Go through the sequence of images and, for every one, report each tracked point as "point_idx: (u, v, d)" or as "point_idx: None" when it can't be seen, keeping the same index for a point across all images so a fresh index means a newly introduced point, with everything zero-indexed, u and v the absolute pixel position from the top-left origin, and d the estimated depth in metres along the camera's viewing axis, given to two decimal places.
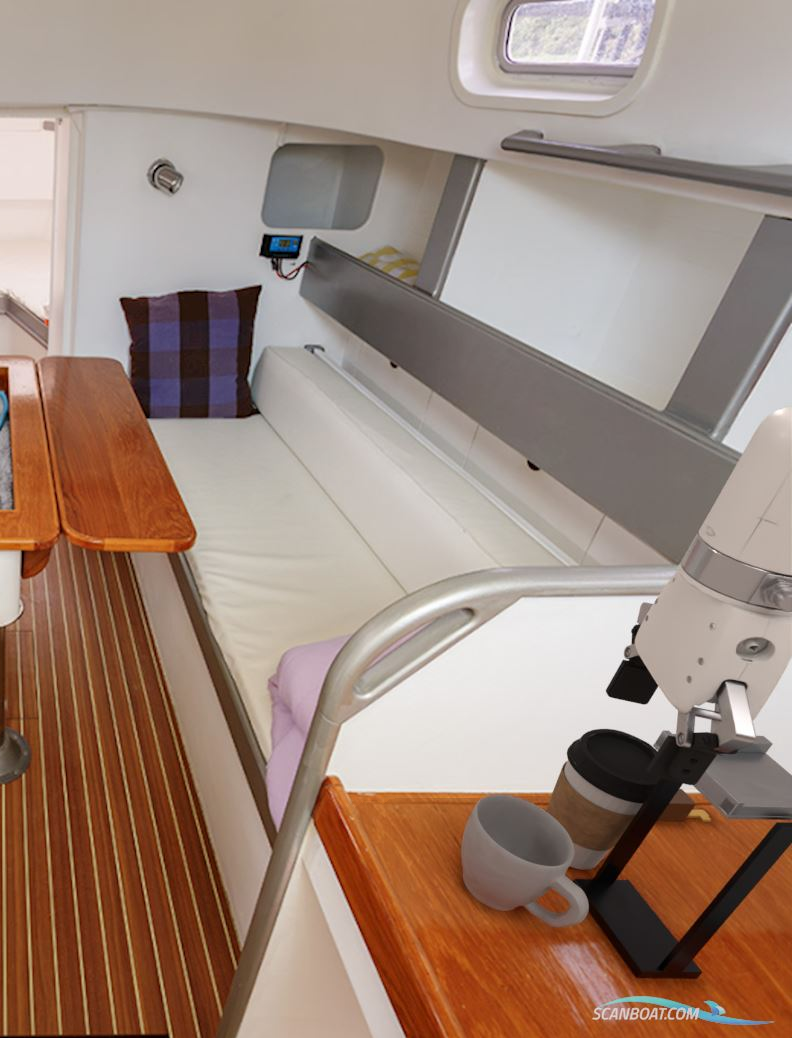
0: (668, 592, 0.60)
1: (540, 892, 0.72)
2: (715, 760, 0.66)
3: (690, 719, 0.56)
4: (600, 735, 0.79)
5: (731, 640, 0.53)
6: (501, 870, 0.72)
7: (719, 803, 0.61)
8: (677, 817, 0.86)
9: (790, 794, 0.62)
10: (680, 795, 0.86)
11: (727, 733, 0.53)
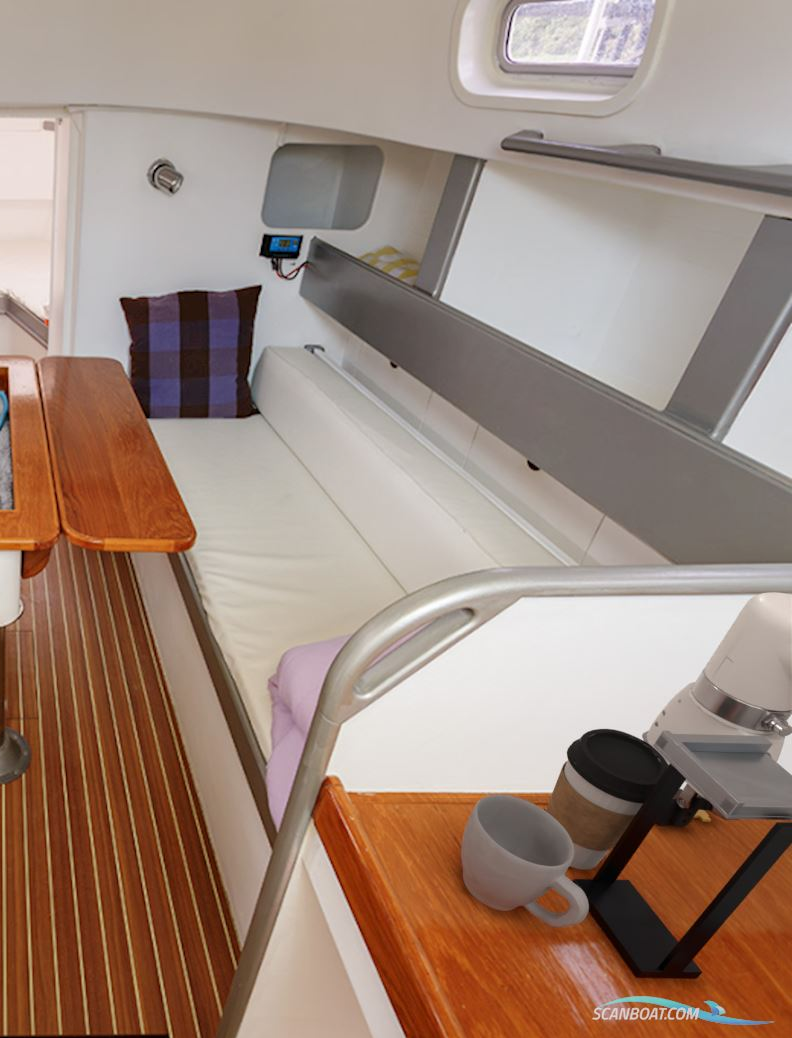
0: (676, 709, 0.84)
1: (540, 892, 0.72)
2: (715, 760, 0.66)
3: (694, 797, 0.82)
4: (600, 735, 0.79)
5: None
6: (501, 870, 0.72)
7: (719, 803, 0.61)
8: None
9: (790, 794, 0.62)
10: None
11: None
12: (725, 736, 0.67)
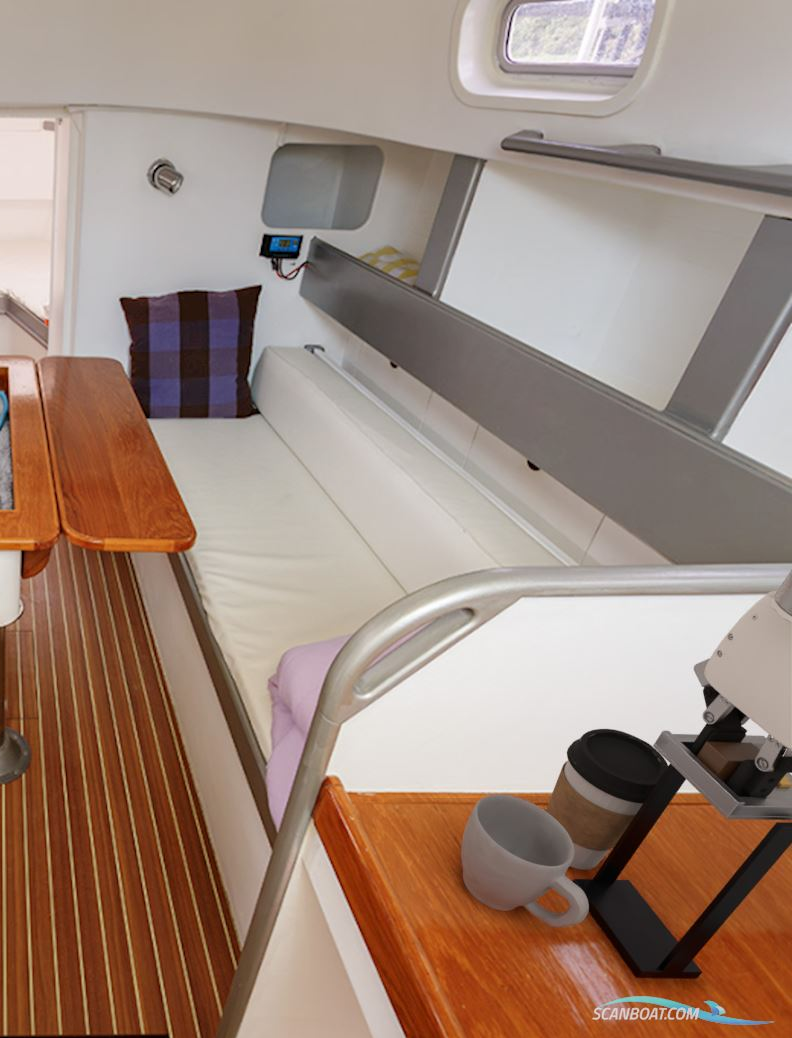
0: (750, 630, 0.60)
1: (540, 892, 0.72)
2: None
3: (780, 753, 0.58)
4: (600, 735, 0.79)
5: None
6: (501, 870, 0.72)
7: (719, 803, 0.61)
8: None
9: (790, 794, 0.62)
10: (750, 750, 0.62)
11: None
12: None
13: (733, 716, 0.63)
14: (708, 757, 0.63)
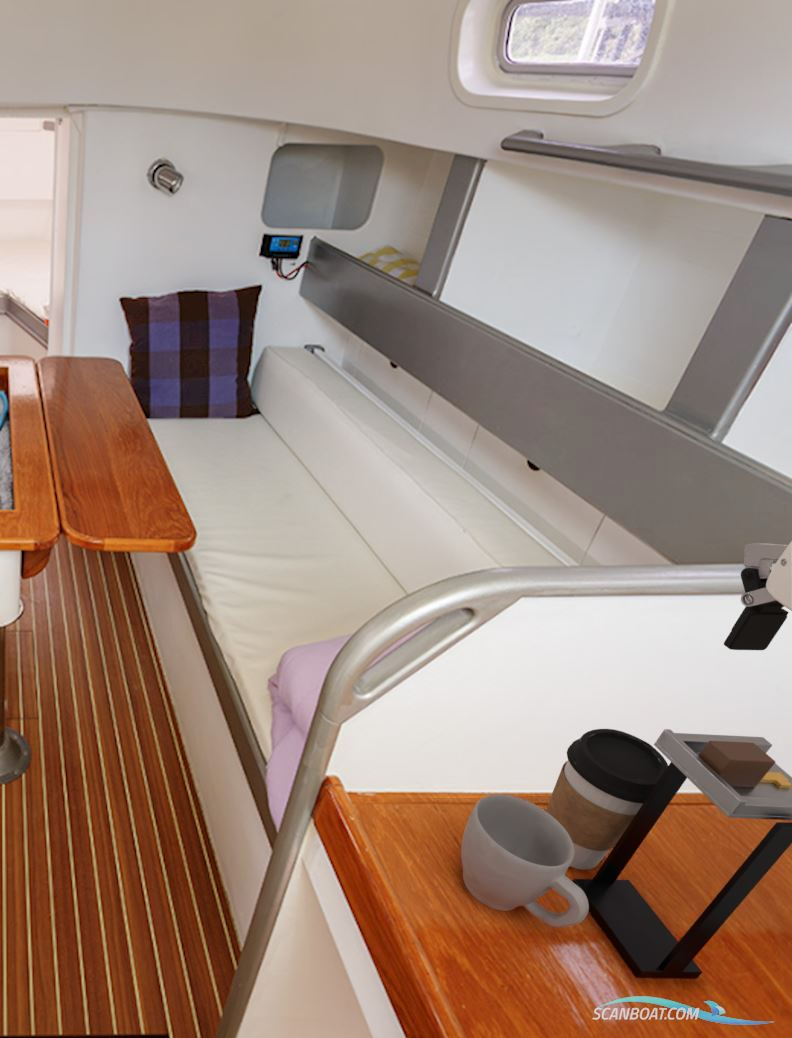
0: None
1: (540, 892, 0.72)
2: None
3: None
4: (600, 735, 0.79)
5: None
6: (501, 870, 0.72)
7: (720, 802, 0.61)
8: (747, 781, 0.63)
9: (789, 795, 0.63)
10: (753, 750, 0.62)
11: None
12: (725, 736, 0.67)
13: (774, 601, 0.61)
14: (711, 756, 0.63)
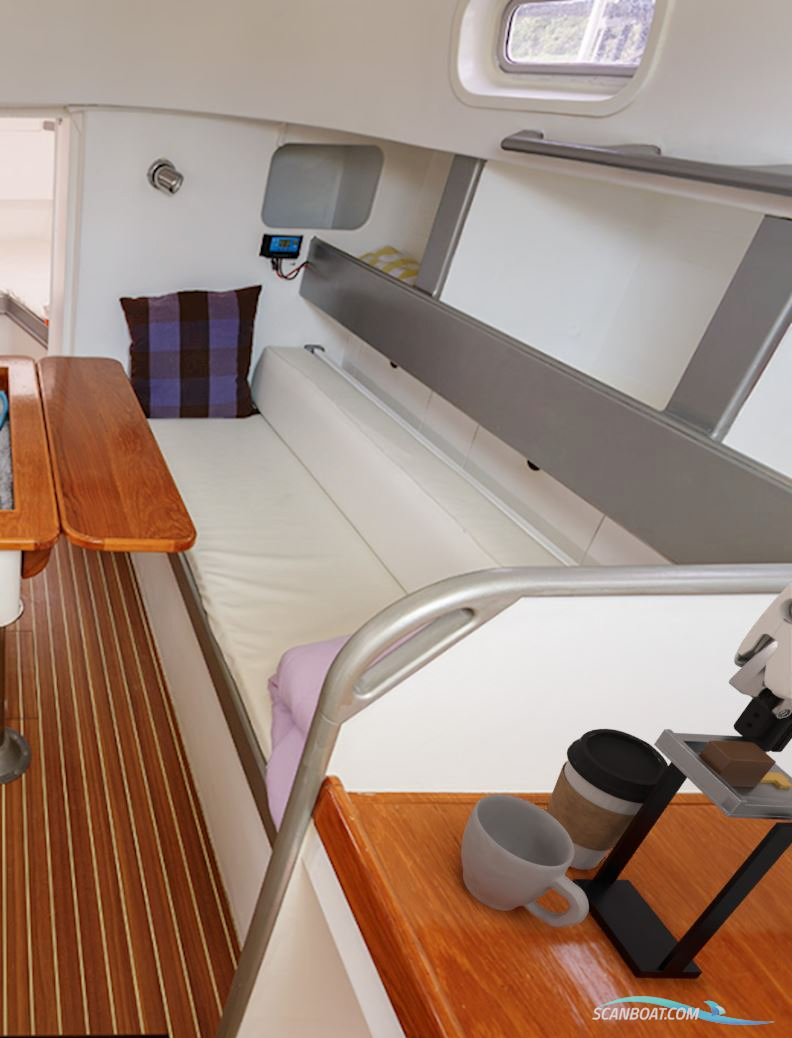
0: None
1: (540, 892, 0.72)
2: None
3: None
4: (600, 735, 0.79)
5: (783, 599, 0.60)
6: (501, 870, 0.72)
7: (720, 802, 0.61)
8: (747, 781, 0.63)
9: (789, 795, 0.63)
10: (753, 750, 0.62)
11: None
12: (725, 736, 0.67)
13: None
14: (711, 756, 0.63)
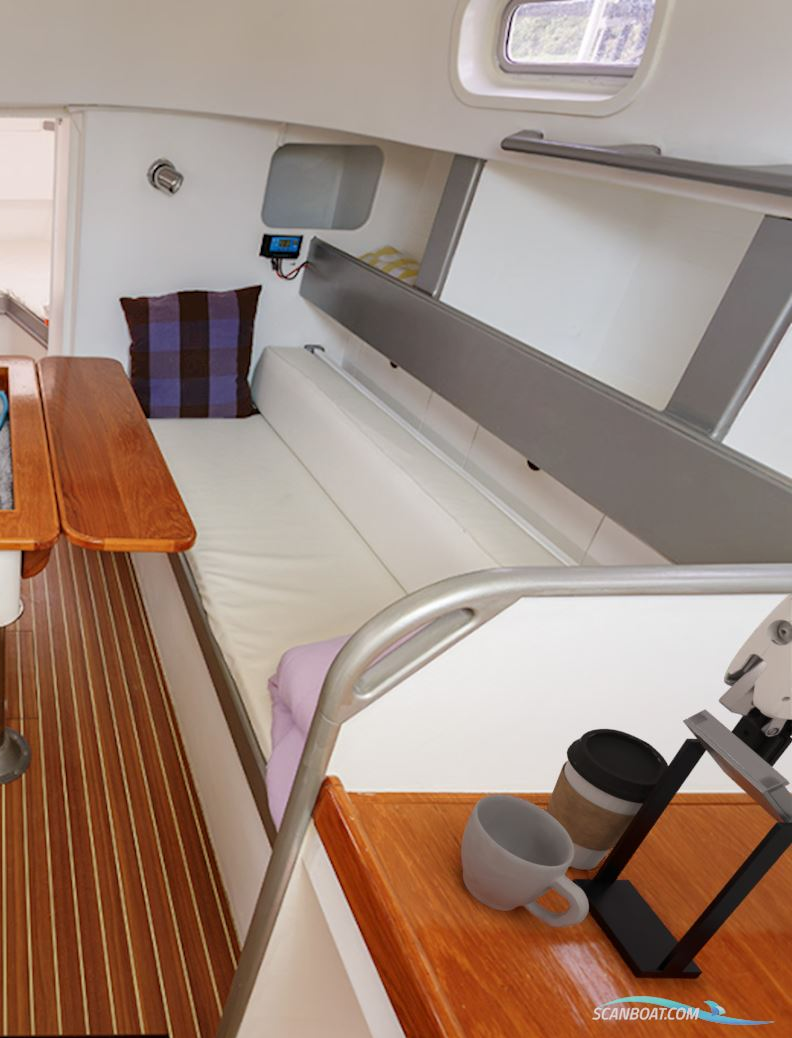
0: None
1: (540, 892, 0.72)
2: None
3: None
4: (600, 735, 0.79)
5: (771, 621, 0.62)
6: (501, 870, 0.72)
7: (758, 778, 0.60)
8: None
9: None
10: None
11: None
12: None
13: (789, 718, 0.65)
14: None
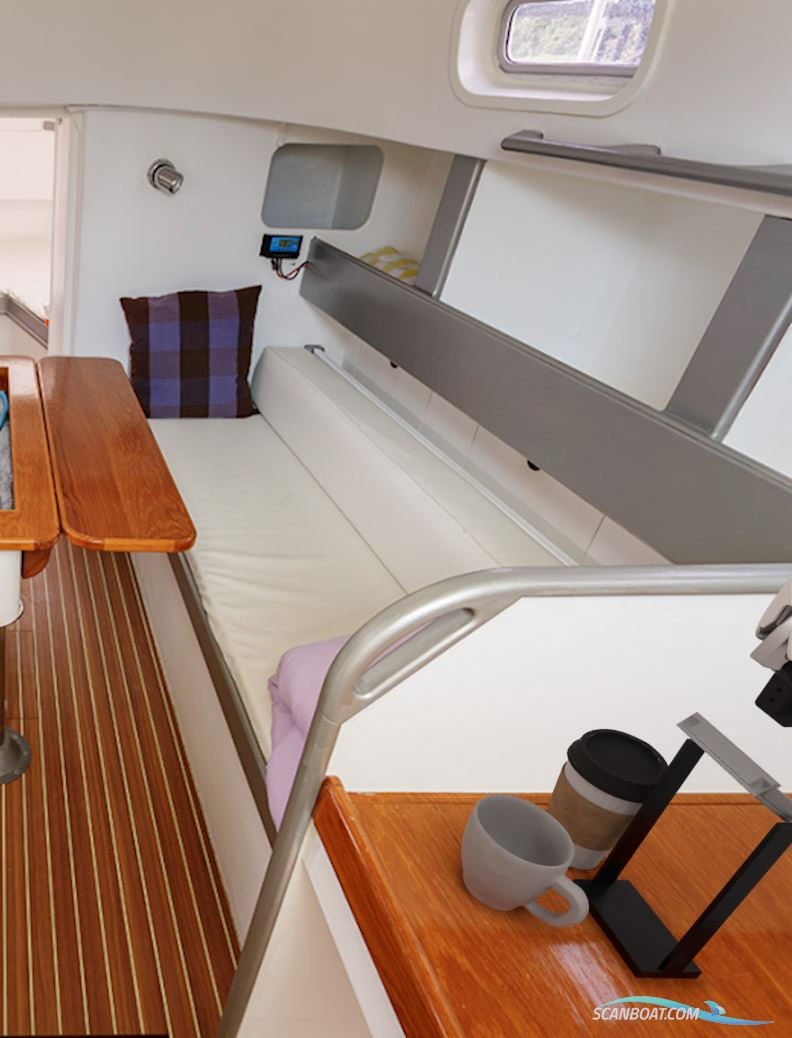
0: None
1: (540, 892, 0.72)
2: None
3: None
4: (600, 735, 0.79)
5: None
6: (501, 870, 0.72)
7: (750, 782, 0.60)
8: None
9: None
10: None
11: None
12: None
13: None
14: None
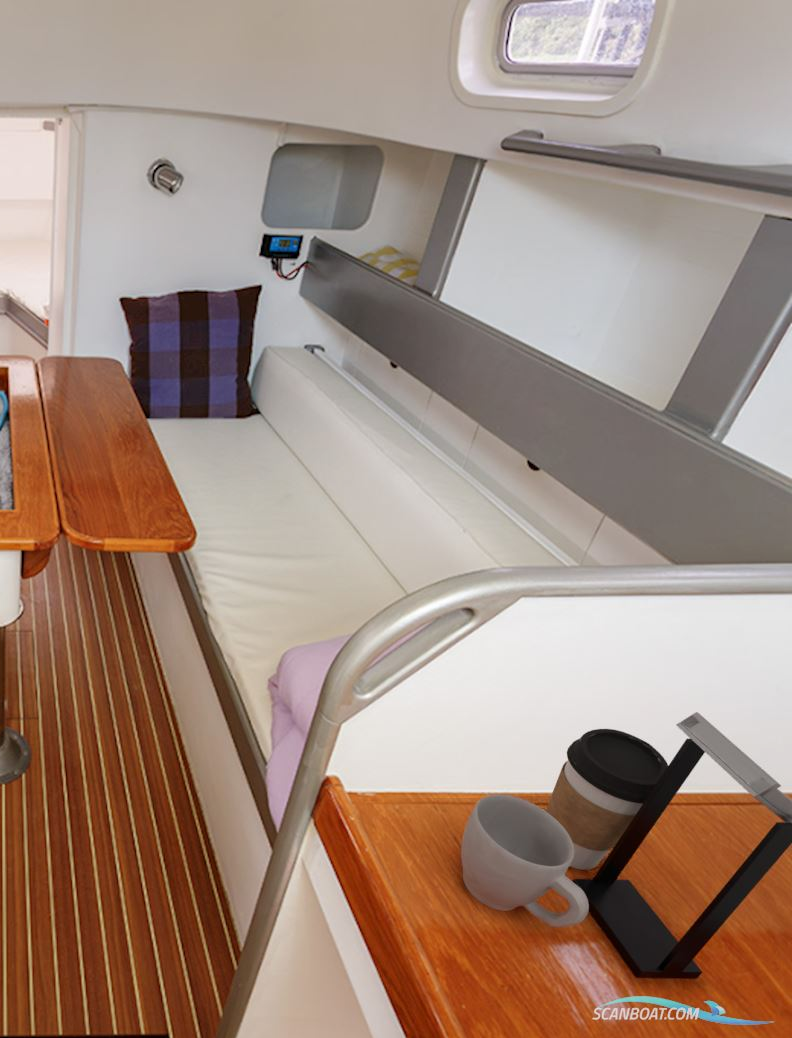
0: None
1: (540, 892, 0.72)
2: None
3: None
4: (600, 735, 0.79)
5: None
6: (501, 870, 0.72)
7: (749, 782, 0.60)
8: None
9: None
10: None
11: None
12: None
13: None
14: None
